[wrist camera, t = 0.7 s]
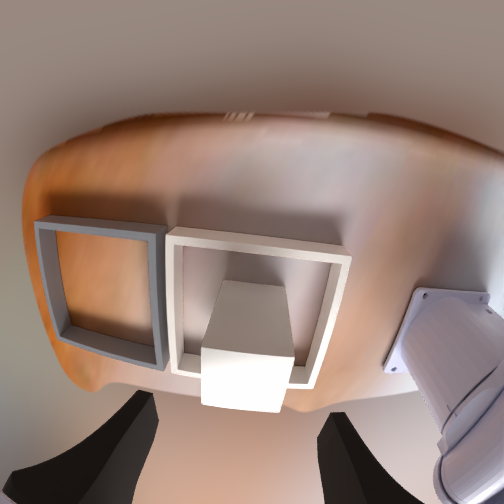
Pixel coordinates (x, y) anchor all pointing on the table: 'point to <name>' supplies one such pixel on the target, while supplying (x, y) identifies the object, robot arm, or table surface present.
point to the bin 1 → (56, 297)
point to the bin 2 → (264, 246)
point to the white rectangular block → (247, 348)
